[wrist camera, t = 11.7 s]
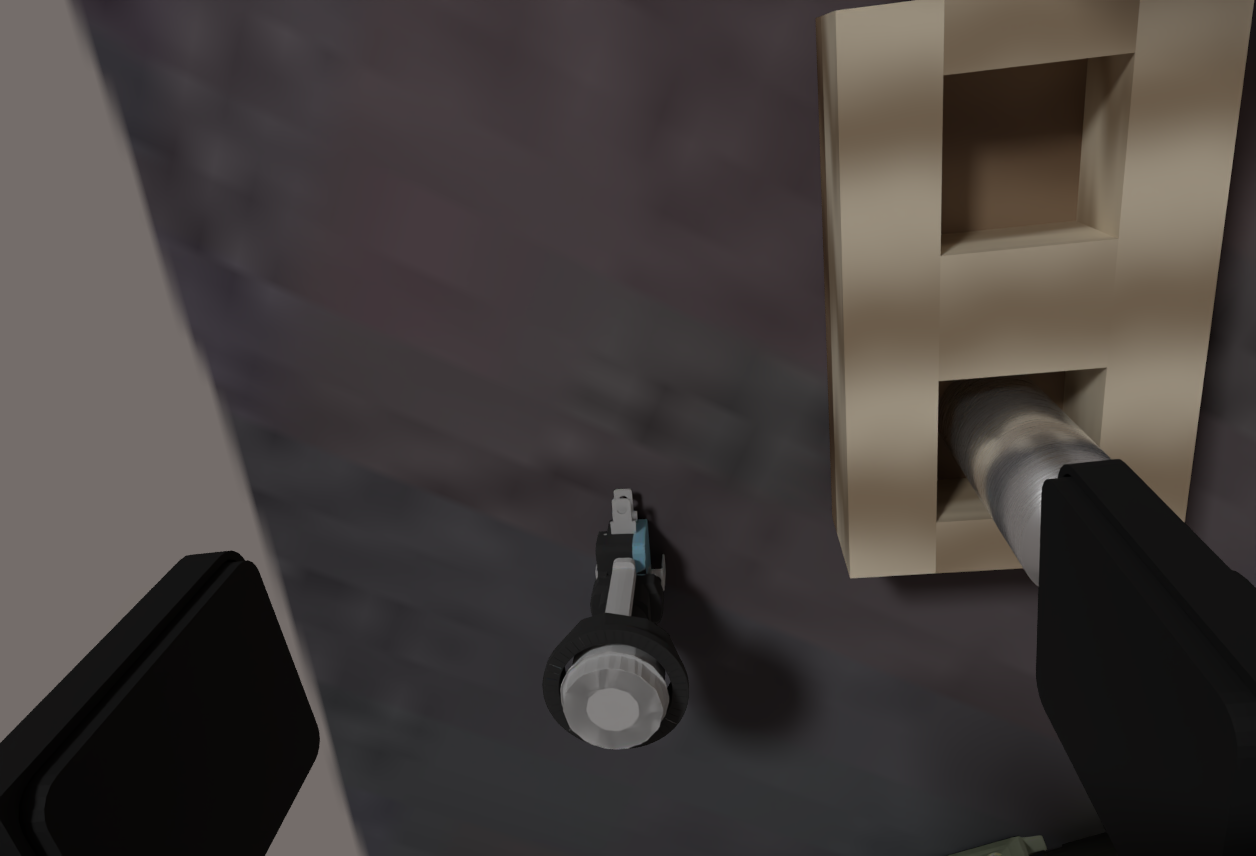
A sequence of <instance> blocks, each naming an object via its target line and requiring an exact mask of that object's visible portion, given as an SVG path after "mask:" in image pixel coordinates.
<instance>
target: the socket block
mask: <svg viewBox="0 0 1256 856" xmlns="http://www.w3.org/2000/svg"><path fill="white" fill-rule="evenodd" d="M1253 6H1254V0H915V1H907V2H899V3H891V4H884V5H876V6H868V7H860V8H853V9H845V10H837V11H833V12H831V13H828V14H826V15H823V16H820V17H818V18H816V44H817V73H818V103H819V133H820V163H821V192H822V222H823V252H824V282H825V312H826V341H827V371H828V401H829V431H830V461H831V490H832V517H833V521H834V524H835V528H836V531H837V535H838V538H839V541H840V545H841V548H842V552H843V555H844V559H845V562H846V565H847V569H848V572H849V576H850V578H864V577H881V576H899V575H916V574H933V573H950V572H967V571H984V570H1002V569H1019V568H1023V567H1022V565H1021V564H1020V562H1019V561H1018V559H1017V557H1016V556H1015V554H1014V553H1013V551H1012V549H1011V548H1010V546H1009V545H1008V543H1007V541H1006V540H1005V538H1004V537H1003V535H1002V533H1001V532H1000V530H999V529H998V527H997V525H996V524H995V522H994V521H993V519H992V518H991V516H990V514H989V513H988V511H987V510H986V508H985V506H984V505H983V503H982V502H981V500H980V498H979V497H978V495H977V494H976V492H975V490H974V489H973V487H972V486H971V484H970V482H969V481H968V479H967V478H966V476H965V474H964V473H963V471H962V470H961V468H960V466H959V465H958V463H957V462H956V460H955V458H954V457H953V455H952V454H951V452H950V451H949V449H948V447H947V446H946V444H945V443H944V441H943V439H942V438H941V436H940V434H939V431H938V404H939V401H940V399H941V397H942V395H943V393H944V392H945V390H946V389H947V387H948V386H949V385H950V384H951V383H952V382H953V381H954V380H960V379H972V378H984V377H996V376H1008V375H1021V374H1026V375H1027V376H1028V377H1029V378H1030V379H1031V380H1032V381H1033V382H1034V383H1035V384H1036V385H1037V386H1038V387H1039V388H1040V389H1041V390H1042V391H1043V392H1044V393H1045V394H1046V395H1047V396H1048V397H1049V398H1050V399H1051V400H1052V401H1053V402H1054V403H1055V404H1056V405H1057V406H1058V407H1059V408H1060V409H1061V410H1062V411H1063V412H1064V413H1065V414H1066V415H1067V416H1068V417H1069V418H1070V419H1071V420H1072V421H1074V422H1075V423H1076V424H1077V425H1078V426H1079V427H1080V428H1081V429H1082V430H1083V431H1084V432H1085V433H1086V434H1087V435H1088V436H1089V437H1090V438H1091V439H1092V440H1093V441H1094V442H1095V443H1096V444H1097V445H1098V446H1099V447H1100V448H1101V449H1102V450H1103V451H1104V452H1105V453H1106V454H1107V455H1108V456H1109V457H1110V458H1111V459H1121V460H1122V461H1124V462H1125V463H1126V464H1127V465H1128V466H1129V467H1130V468H1131V469H1132V470H1133V471H1134V472H1135V473H1136V474H1137V475H1138V476H1139V477H1140V478H1141V479H1142V480H1143V481H1144V482H1145V483H1146V484H1147V485H1148V486H1149V487H1150V488H1151V489H1152V490H1153V491H1154V492H1155V493H1156V494H1157V495H1158V496H1159V497H1160V498H1161V499H1162V500H1163V501H1164V502H1165V503H1166V504H1167V505H1168V506H1169V507H1170V508H1171V510H1172V511H1173V512H1174V513H1175V514H1176V515H1177V516H1178V517H1179V518H1180V519H1181V520H1182V521H1183V522H1184V523H1185V516H1186V509H1187V501H1188V494H1189V486H1190V479H1191V471H1192V464H1193V456H1194V449H1195V441H1196V434H1197V426H1198V419H1199V411H1200V404H1201V396H1202V389H1203V381H1204V374H1205V366H1206V359H1207V351H1208V344H1209V336H1210V329H1211V321H1212V314H1213V306H1214V299H1215V291H1216V284H1217V276H1218V269H1219V261H1220V254H1221V246H1222V239H1223V231H1224V224H1225V216H1226V209H1227V201H1228V193H1229V186H1230V178H1231V171H1232V163H1233V156H1234V148H1235V141H1236V133H1237V126H1238V118H1239V111H1240V103H1241V96H1242V88H1243V81H1244V73H1245V66H1246V58H1247V51H1248V43H1249V36H1250V28H1251V21H1252V13H1253Z"/></svg>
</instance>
